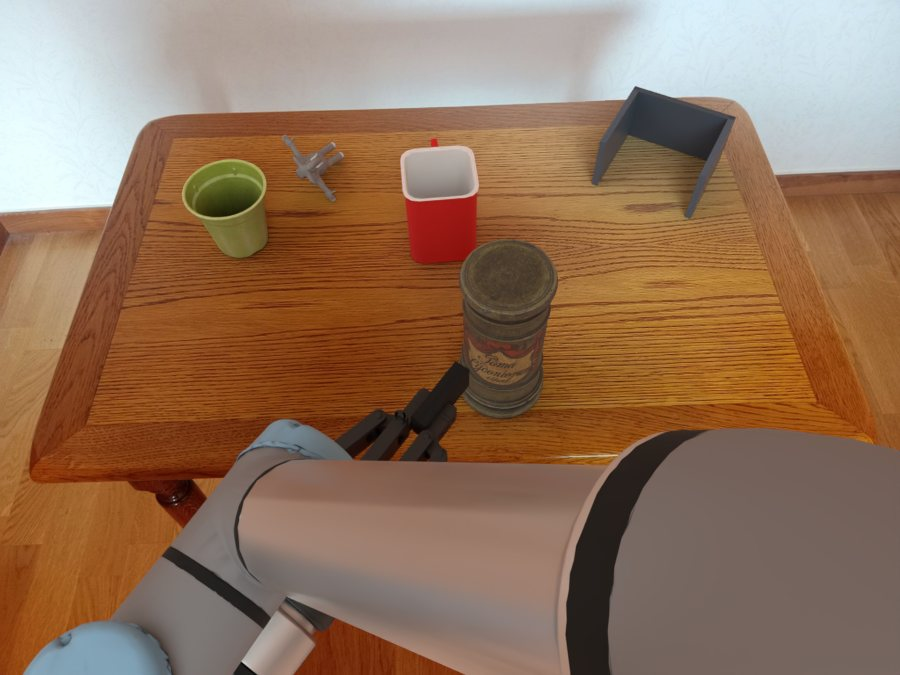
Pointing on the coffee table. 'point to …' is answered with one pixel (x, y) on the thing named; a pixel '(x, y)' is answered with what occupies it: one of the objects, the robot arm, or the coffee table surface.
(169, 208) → the coffee table surface
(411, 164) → the mug
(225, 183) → the plant pot
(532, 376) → the container
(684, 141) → the grey u-shaped piece
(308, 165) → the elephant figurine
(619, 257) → the coffee table surface
